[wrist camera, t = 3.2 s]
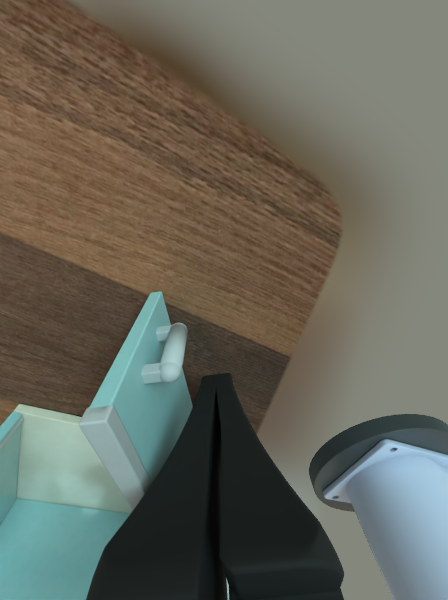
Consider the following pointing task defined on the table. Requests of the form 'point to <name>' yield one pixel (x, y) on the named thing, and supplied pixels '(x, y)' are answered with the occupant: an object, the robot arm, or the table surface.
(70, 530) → the turquoise open box
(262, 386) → the table surface
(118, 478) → the turquoise cabinet door
